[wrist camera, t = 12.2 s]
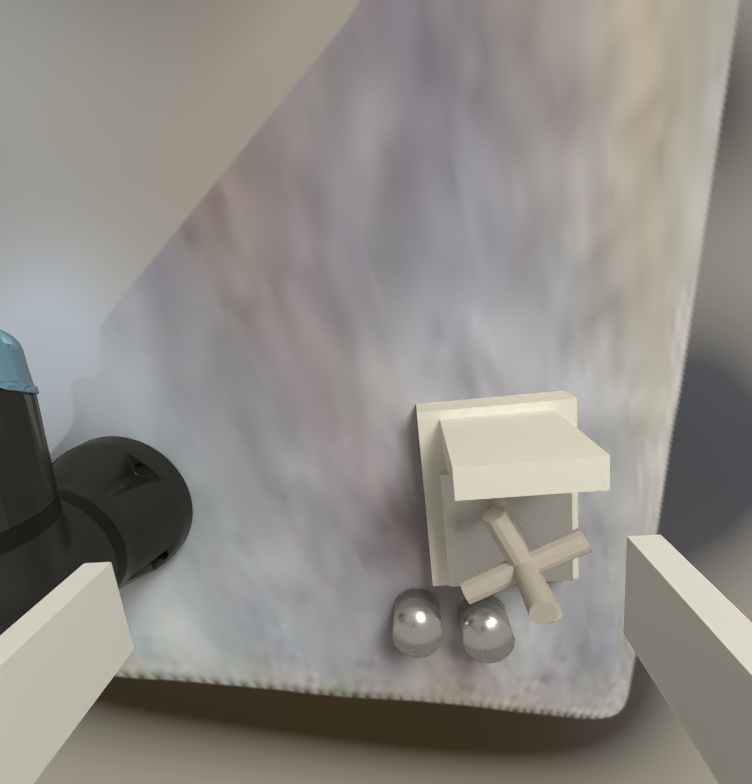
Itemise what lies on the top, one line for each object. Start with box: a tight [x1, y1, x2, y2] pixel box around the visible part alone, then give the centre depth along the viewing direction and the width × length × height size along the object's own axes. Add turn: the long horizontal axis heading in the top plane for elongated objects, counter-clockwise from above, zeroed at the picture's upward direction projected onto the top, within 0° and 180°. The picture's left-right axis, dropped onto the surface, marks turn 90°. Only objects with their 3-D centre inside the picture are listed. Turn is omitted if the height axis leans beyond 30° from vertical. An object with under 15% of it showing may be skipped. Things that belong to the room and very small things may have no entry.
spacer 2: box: [459, 595, 515, 663], centre depth 46 cm, size 5×5×4 cm
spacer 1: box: [393, 589, 443, 657], centre depth 46 cm, size 5×5×4 cm
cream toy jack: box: [460, 506, 592, 625], centre depth 34 cm, size 10×10×10 cm
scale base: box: [416, 391, 610, 586], centre depth 37 cm, size 14×18×14 cm
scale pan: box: [439, 470, 573, 587], centre depth 39 cm, size 11×11×1 cm
